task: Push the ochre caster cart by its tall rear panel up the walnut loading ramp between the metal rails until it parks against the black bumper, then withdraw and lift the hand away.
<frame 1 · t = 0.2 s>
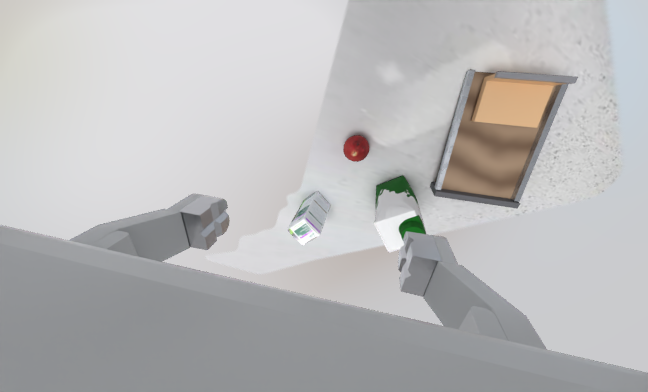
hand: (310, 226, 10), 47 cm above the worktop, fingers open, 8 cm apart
syrup box: (317, 202, 66), on the worktop
dock: (489, 137, 49), on the worktop
cart: (514, 101, 42), point 4 cm above the worktop, slide at 0.0 cm
onion: (357, 144, 56), on the worktop
milk carton: (394, 191, 59), on the worktop
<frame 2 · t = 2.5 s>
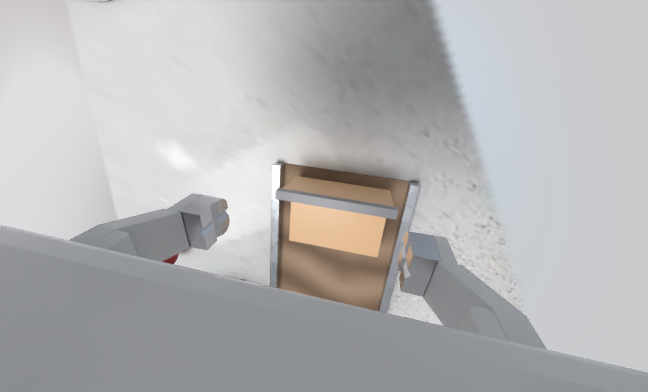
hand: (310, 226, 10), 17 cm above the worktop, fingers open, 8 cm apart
dock: (334, 247, 33), on the worktop
cart: (335, 219, 26), point 4 cm above the worktop, slide at 0.0 cm
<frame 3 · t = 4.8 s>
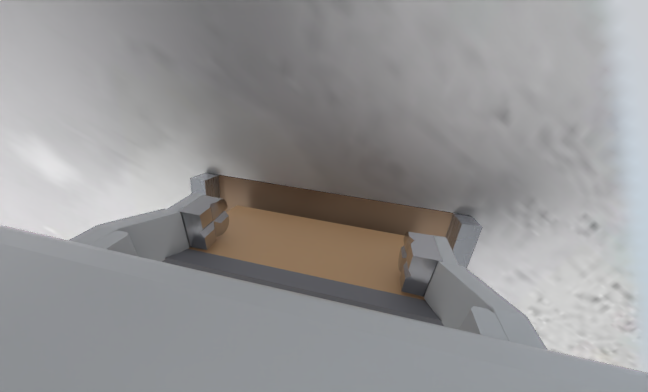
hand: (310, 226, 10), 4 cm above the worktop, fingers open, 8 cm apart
dock: (316, 313, 20), on the worktop
cart: (307, 294, 13), point 4 cm above the worktop, slide at 0.4 cm, touching gripper
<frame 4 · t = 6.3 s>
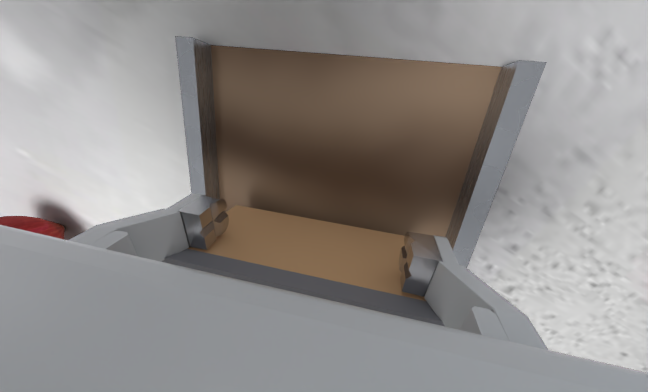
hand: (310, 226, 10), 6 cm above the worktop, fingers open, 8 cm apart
dock: (324, 237, 17), on the worktop
cart: (307, 294, 13), point 5 cm above the worktop, slide at 7.9 cm, touching gripper
onion: (64, 224, 24), on the worktop
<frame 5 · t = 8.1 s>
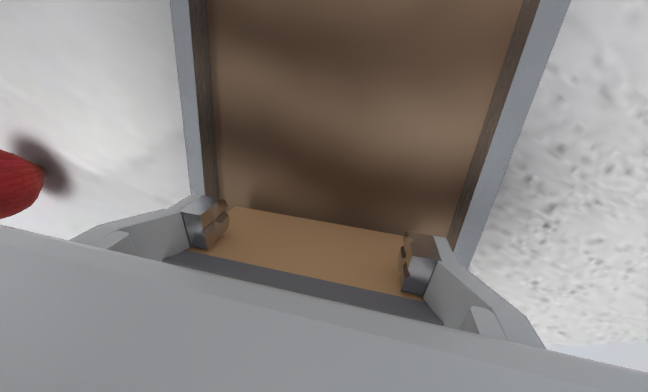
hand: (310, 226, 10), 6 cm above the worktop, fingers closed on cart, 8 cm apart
dock: (334, 156, 15), on the worktop
cart: (307, 296, 13), point 6 cm above the worktop, slide at 14.2 cm, touching gripper
onion: (44, 167, 22), on the worktop
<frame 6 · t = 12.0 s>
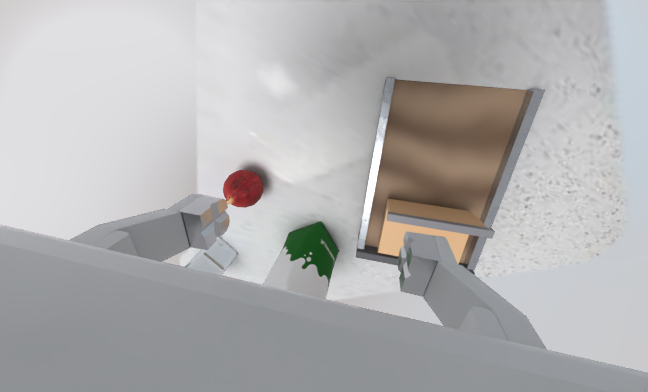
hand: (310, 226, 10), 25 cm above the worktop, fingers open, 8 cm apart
syrup box: (222, 249, 50), on the worktop
dock: (429, 175, 33), on the worktop
cart: (424, 236, 31), point 6 cm above the worktop, slide at 14.2 cm
onion: (255, 179, 40), on the worktop
milk carton: (313, 240, 43), on the worktop
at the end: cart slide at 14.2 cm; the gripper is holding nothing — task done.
